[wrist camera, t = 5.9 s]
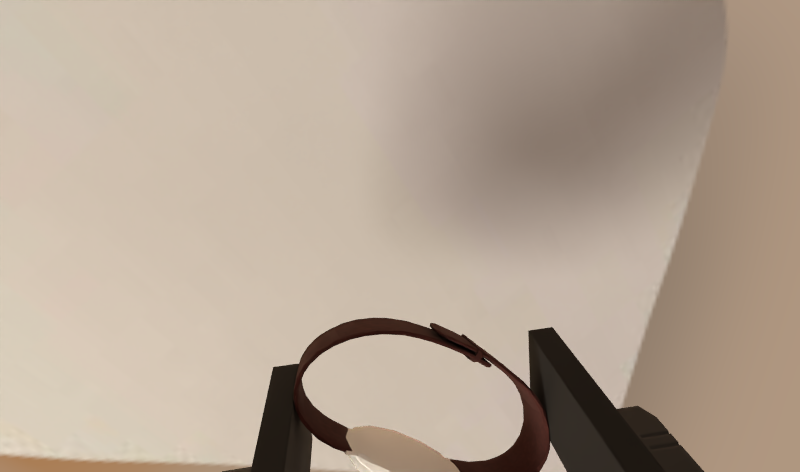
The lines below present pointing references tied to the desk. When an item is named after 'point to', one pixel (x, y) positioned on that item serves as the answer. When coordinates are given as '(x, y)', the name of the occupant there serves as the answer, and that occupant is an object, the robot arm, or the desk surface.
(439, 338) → the watch
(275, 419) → the robot arm
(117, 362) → the desk surface
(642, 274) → the desk surface
